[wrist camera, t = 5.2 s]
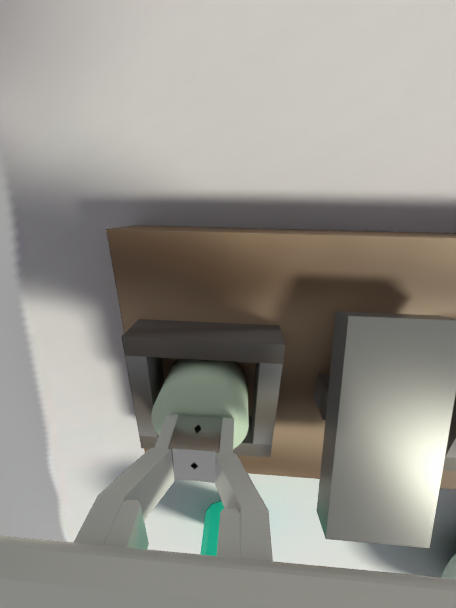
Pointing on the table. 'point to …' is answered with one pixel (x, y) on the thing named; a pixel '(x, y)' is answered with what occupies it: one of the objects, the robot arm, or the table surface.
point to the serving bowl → (450, 569)
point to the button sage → (204, 394)
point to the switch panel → (269, 318)
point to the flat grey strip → (386, 426)
